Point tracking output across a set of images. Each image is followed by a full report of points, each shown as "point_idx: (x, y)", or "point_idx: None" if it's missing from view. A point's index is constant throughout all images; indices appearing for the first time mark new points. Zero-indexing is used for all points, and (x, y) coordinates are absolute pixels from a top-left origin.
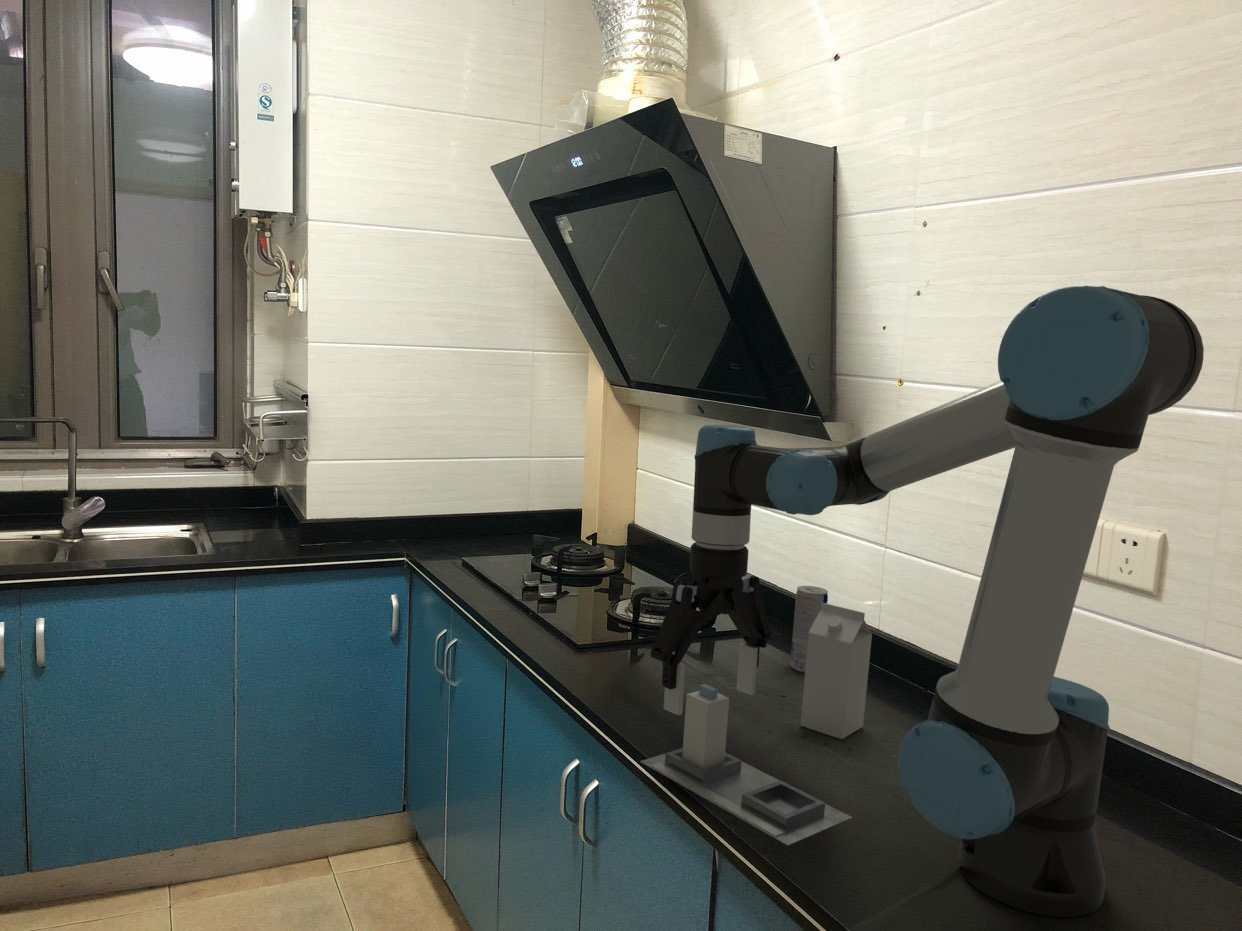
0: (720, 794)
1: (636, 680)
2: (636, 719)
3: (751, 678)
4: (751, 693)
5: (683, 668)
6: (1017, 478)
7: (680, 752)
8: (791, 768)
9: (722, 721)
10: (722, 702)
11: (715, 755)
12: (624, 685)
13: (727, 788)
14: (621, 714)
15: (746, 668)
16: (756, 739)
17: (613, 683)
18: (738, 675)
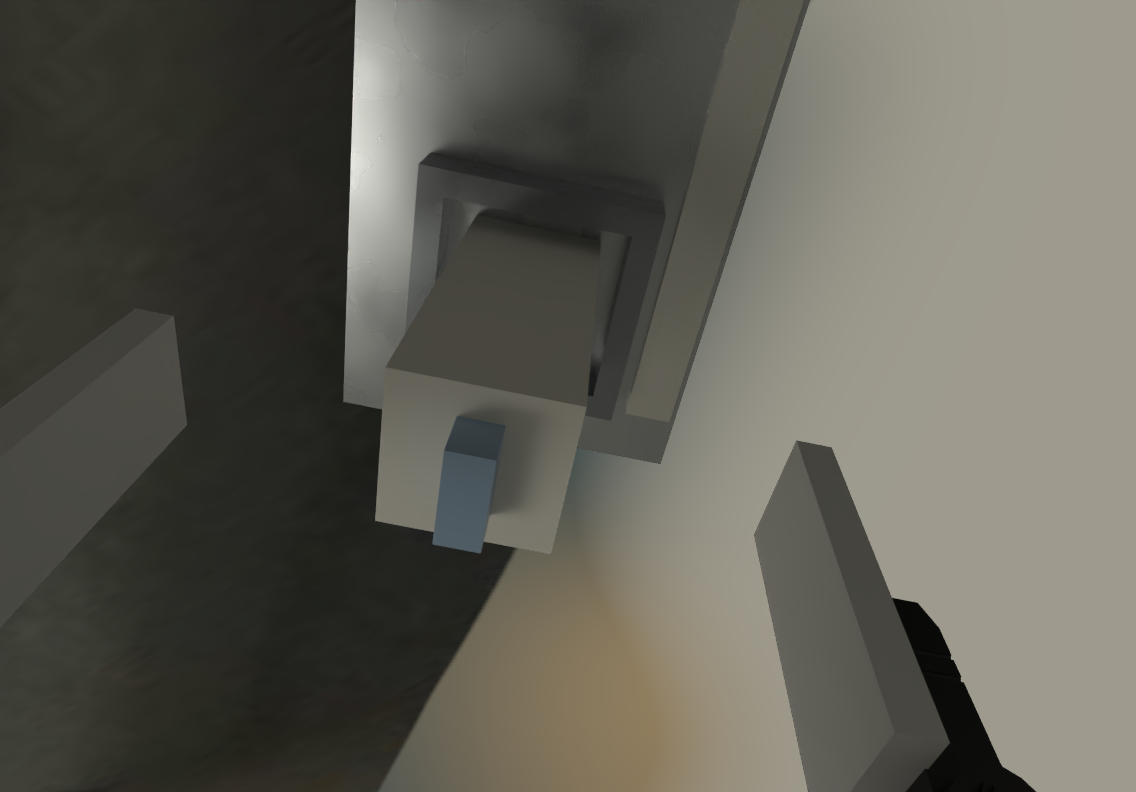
0: (693, 88)
1: (162, 743)
2: (367, 625)
3: (100, 381)
4: (164, 320)
5: (899, 703)
6: None
7: None
8: (161, 27)
9: (464, 312)
10: (455, 370)
11: (524, 252)
12: (220, 745)
13: (618, 99)
14: (379, 664)
15: (70, 465)
16: (100, 293)
17: (239, 765)
18: (130, 476)
